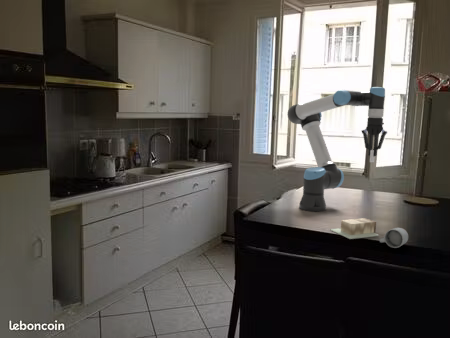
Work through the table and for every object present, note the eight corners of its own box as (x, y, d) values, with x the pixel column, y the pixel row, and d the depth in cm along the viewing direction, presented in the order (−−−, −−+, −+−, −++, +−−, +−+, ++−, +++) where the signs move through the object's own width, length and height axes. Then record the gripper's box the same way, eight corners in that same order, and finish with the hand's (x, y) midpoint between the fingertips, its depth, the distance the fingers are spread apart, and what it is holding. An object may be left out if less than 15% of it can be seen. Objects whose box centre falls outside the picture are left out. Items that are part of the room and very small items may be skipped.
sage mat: (357, 227, 194) (357, 226, 194) (378, 235, 181) (379, 234, 181) (330, 230, 188) (330, 229, 188) (350, 239, 175) (350, 237, 175)
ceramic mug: (408, 245, 169) (410, 227, 168) (402, 249, 163) (403, 231, 162) (383, 240, 176) (384, 223, 175) (376, 244, 170) (377, 226, 169)
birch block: (365, 218, 191) (341, 220, 185) (376, 221, 184) (351, 224, 179) (364, 228, 191) (340, 230, 186) (375, 232, 185) (350, 235, 180)
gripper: (360, 116, 211) (357, 161, 215) (386, 117, 204) (382, 163, 207) (365, 117, 217) (362, 160, 220) (390, 117, 209) (386, 162, 213)
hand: (371, 162), depth 214 cm, fingers closed
